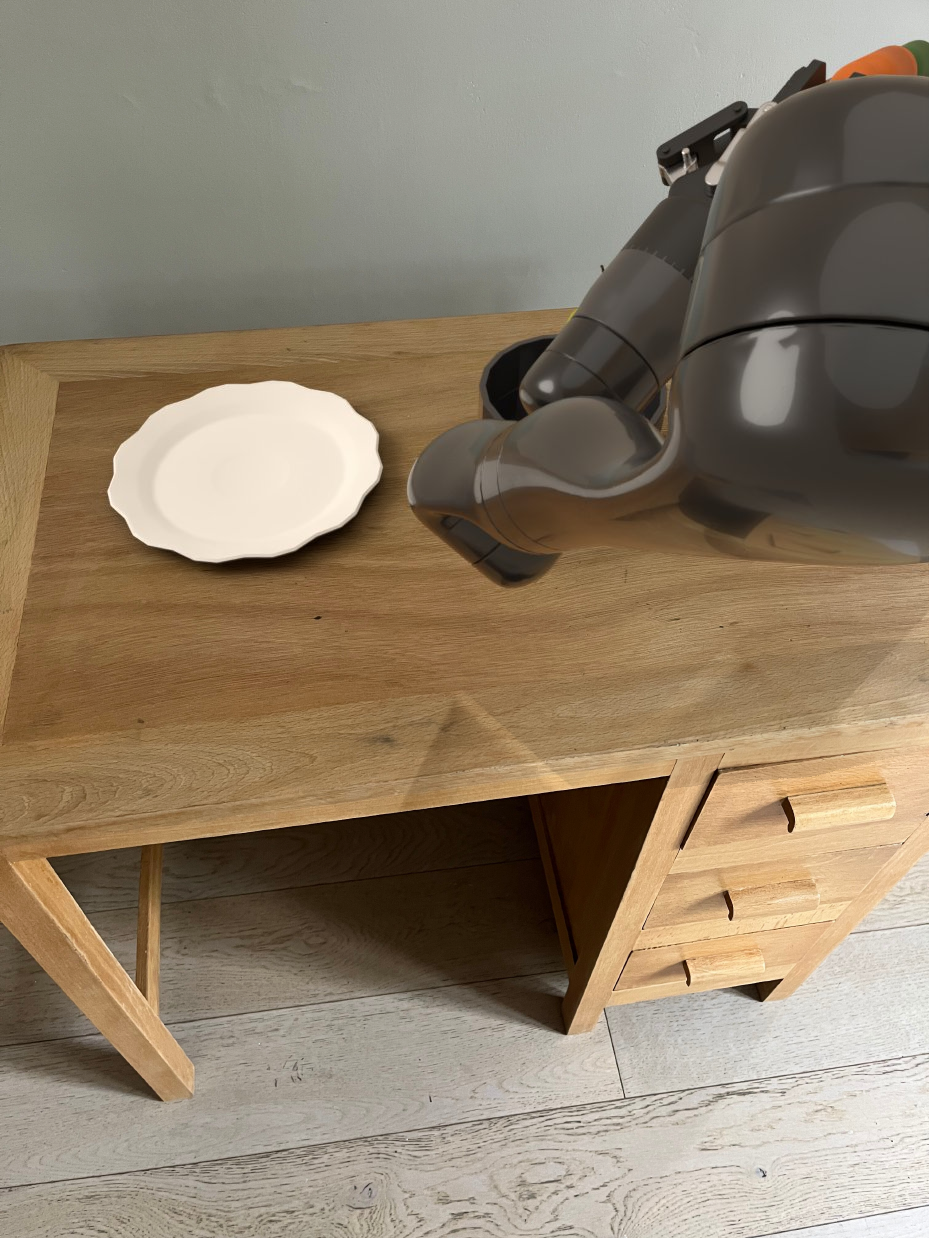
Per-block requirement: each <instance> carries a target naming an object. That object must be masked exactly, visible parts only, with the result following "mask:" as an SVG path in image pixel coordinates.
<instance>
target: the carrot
mask: <svg viewBox="0 0 929 1238" xmlns="http://www.w3.org/2000/svg"><path fill="white" fill-rule="evenodd" d="M853 72H858V73H861V74H864V75H867V76H870V75H910V76H925V77H929V41H926V40H924V39H915V40H911V41H908V42H906V43H904V44H902V45H896V44H895V45H894V44H893V45H886V46H883V47H881V48H878V49H876V50H874V51H872V52H870V53H868V54H866V55H863V56H861V57H859V58H857V59H855V60H853V61H850V62H849V63H846V64H845V65H844V66H841V68H839V69H838V70H837V71H836V72H835V73H834V74H833V75H832V77H830V78H831V80H830V81H834V80H841V79H848V78H849V77H850V76H851V75H852V73H853ZM830 81H829V82H830Z"/></svg>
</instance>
